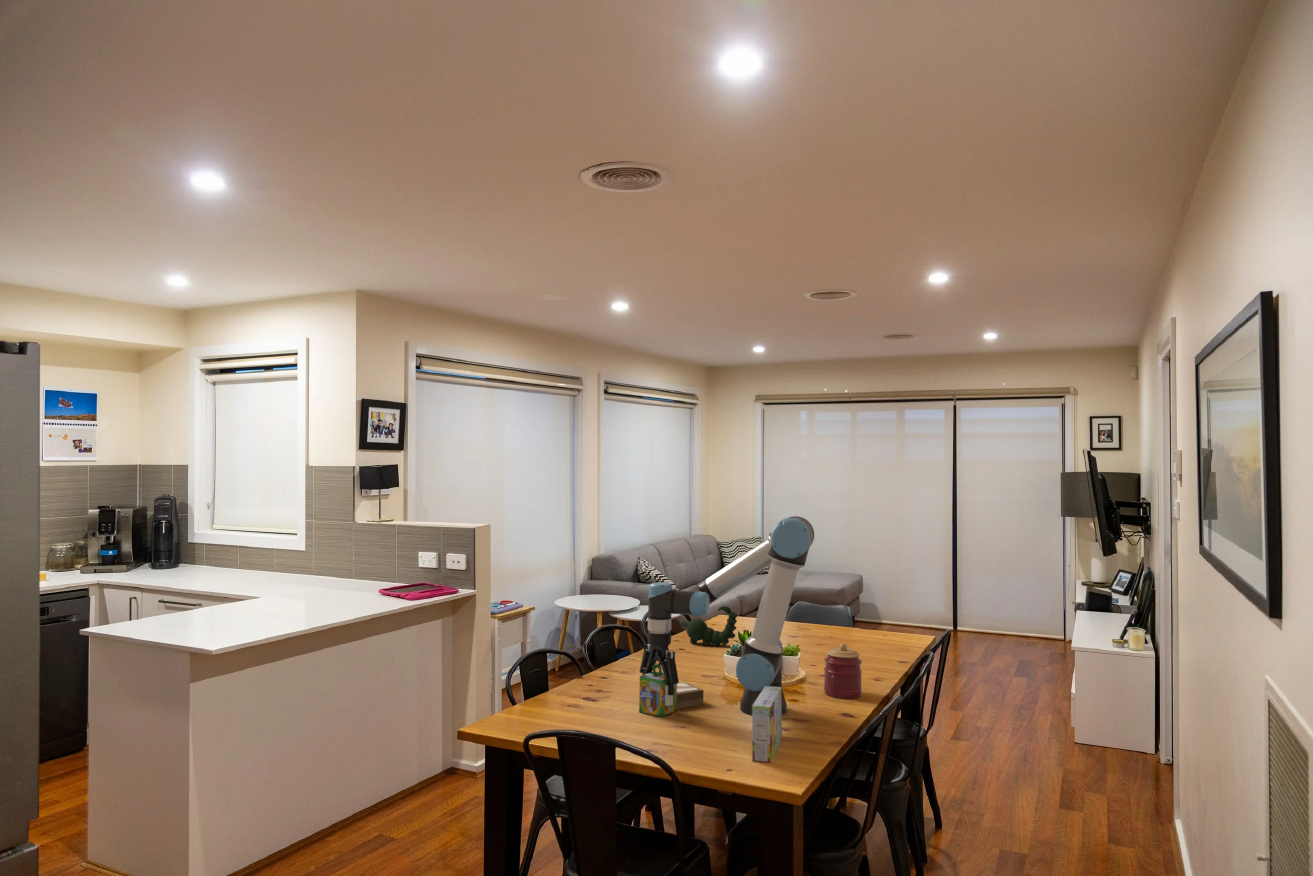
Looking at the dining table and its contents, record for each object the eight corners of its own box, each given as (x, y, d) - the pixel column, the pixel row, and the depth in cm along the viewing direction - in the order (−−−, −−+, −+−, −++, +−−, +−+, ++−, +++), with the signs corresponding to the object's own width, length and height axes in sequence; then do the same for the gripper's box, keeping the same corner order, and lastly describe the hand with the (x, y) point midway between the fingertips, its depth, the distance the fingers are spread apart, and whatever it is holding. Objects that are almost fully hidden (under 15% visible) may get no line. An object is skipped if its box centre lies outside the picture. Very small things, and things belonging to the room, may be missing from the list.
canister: (832, 687, 297) (833, 638, 297) (867, 693, 289) (867, 643, 290) (817, 695, 286) (818, 644, 287) (853, 701, 279) (853, 649, 279)
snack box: (763, 737, 240) (764, 685, 241) (782, 739, 239) (783, 686, 239) (750, 761, 220) (751, 704, 221) (771, 764, 219) (772, 706, 219)
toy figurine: (735, 649, 364) (681, 639, 372) (740, 606, 364) (686, 597, 372) (730, 653, 355) (675, 643, 363) (735, 609, 355) (680, 600, 363)
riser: (703, 705, 272) (703, 689, 272) (672, 710, 266) (673, 694, 266) (683, 696, 282) (683, 681, 282) (653, 701, 276) (653, 685, 276)
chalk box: (661, 718, 257) (662, 670, 257) (637, 712, 262) (638, 665, 262) (677, 711, 264) (678, 664, 265) (654, 705, 269) (655, 660, 270)
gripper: (690, 636, 257) (689, 708, 256) (648, 624, 275) (646, 690, 275) (671, 639, 252) (670, 711, 252) (629, 626, 271) (628, 694, 270)
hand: (658, 700), depth 263 cm, fingers closed on chalk box, 11 cm apart
